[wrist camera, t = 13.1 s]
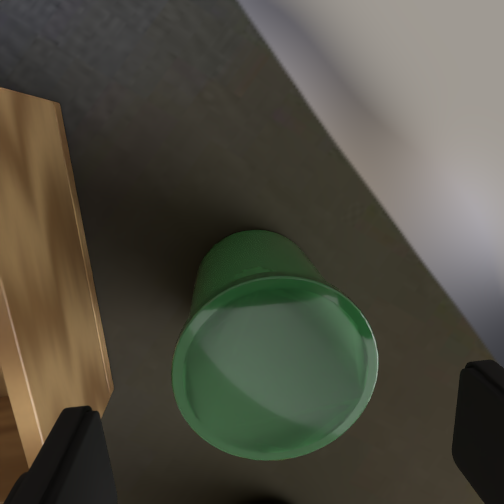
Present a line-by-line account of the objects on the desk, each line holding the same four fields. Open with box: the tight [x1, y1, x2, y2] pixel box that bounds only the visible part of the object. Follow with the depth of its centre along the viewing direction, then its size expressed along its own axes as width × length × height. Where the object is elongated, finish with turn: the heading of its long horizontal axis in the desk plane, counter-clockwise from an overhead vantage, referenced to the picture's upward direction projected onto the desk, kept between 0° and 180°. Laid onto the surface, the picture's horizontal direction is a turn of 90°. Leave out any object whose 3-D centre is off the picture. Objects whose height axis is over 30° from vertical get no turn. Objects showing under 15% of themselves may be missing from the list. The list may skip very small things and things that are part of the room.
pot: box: [171, 230, 379, 461], centre depth 17 cm, size 7×7×8 cm
